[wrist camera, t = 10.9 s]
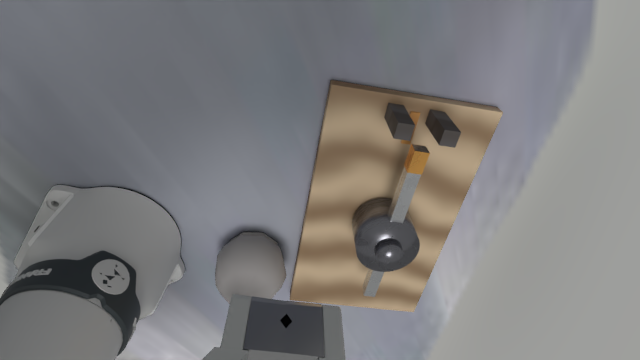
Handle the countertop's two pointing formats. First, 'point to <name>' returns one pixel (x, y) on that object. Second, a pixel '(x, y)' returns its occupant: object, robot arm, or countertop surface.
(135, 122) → the countertop surface
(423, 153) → the capstan
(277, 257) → the potion bottle
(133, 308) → the robot arm
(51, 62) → the countertop surface
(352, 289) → the stand
